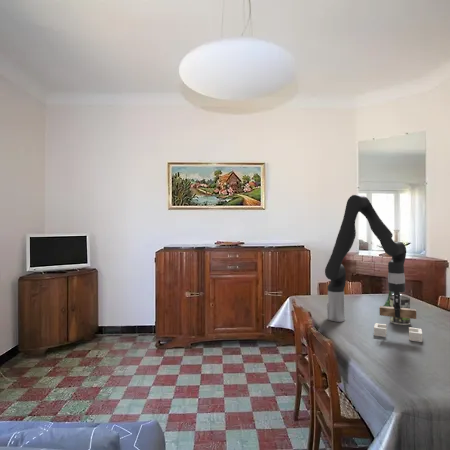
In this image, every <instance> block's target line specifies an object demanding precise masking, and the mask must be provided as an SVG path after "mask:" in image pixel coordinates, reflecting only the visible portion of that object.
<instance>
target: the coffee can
mask: <svg viewBox="0 0 450 450" xmlns="http://www.w3.org/2000/svg"><path fill="white" fill-rule="evenodd" d="M389 298H390V307H394V304H393V297H392V296H390V297H389ZM400 308H409V309H411V298H410V297H408V296H403V295H401V305H400ZM389 319H390V321H389V322H390V323H391V324H394V325H399V326H409V325H411V318H401V317H391V316H389Z"/></svg>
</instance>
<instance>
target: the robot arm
mask: <svg viewBox="0 0 450 450" xmlns="http://www.w3.org/2000/svg"><path fill="white" fill-rule="evenodd" d="M343 213H344V214H343V219H342V222H341V224H340V228H339V230H338V233H337V236H336V238H335V243H334V246H333V249H332V252H331V254H330V258H329V260H328V262H327V263H326V267H325V270H324V275H325V277H326V278H327V279H328V280H330V283H329V284H328V285H327V305H326V307H327V308H326V310H327V314H326V315H327V316H326V317H327V321H331V322H336V323H337V322H338V323H339V322H340V323H341V322H344V321H345V320H346V319H345V318H346V316H345V314H346V312H345V311H346V309H345V308H346V307H345V287H346V282H347V281H346V277H347V274H346V268H345V266H344V265H343V264H342V263H343V261H344V259H345V257H346V255H347V254H348V253H349V252H350V250H351V249H352V247H353V245H354V242H355V239H356V236H357V235H356V233H357V232H356V220H357V217H358V214H359V213H361V214H362V216H363V217H365V219H366V220H367V222H368V225H369V227H370V230H371V232H372V233H373V234H374V236H375V237H376V238H377V240H379V242H380V245H381V247H382V250H383V251H384V252H385V253H386V255H388V256H390V257H391V260H389V261H388V264H387V265H388V267H387V272H388V273H387V282H388V283H387V286H388V287H387V288H388V292H389V291H391V292H394V294H393V295H392V297H393V304H394V309H395V317H400V305H401V296H402V294H401V293H405V292H406V277H405V266H404V265H405V261H406V256H407V247H406V245H405V244H404V242H402V241H394V240H393V233H392V232H391V230H390V229H389V227H388V226H387V225H386V224H385V222H384V221H383V219H381V218H380V216H379V215H378V213H377V211H376V210H375V208H374V206H373V205H372V202H371V201H370V200H369V198H368V197H367V196H365V195H360V194H352V195H351V196H350V197H349V198H348V199H347V201H346V205H345V209H344V212H343ZM399 293H400V294H399Z"/></svg>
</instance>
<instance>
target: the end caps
mask: <svg viewBox="0 0 450 450" xmlns="http://www.w3.org/2000/svg"><path fill="white" fill-rule="evenodd" d="M387 330H388V329H387V324H386V323H377V322H376V323H374V326H373V336H376V337H384V338H387V332H388V331H387ZM408 340H409V341H413V342H419V343H423V330H422V328H418V327H417V328H416V327H409V326H408Z"/></svg>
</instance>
